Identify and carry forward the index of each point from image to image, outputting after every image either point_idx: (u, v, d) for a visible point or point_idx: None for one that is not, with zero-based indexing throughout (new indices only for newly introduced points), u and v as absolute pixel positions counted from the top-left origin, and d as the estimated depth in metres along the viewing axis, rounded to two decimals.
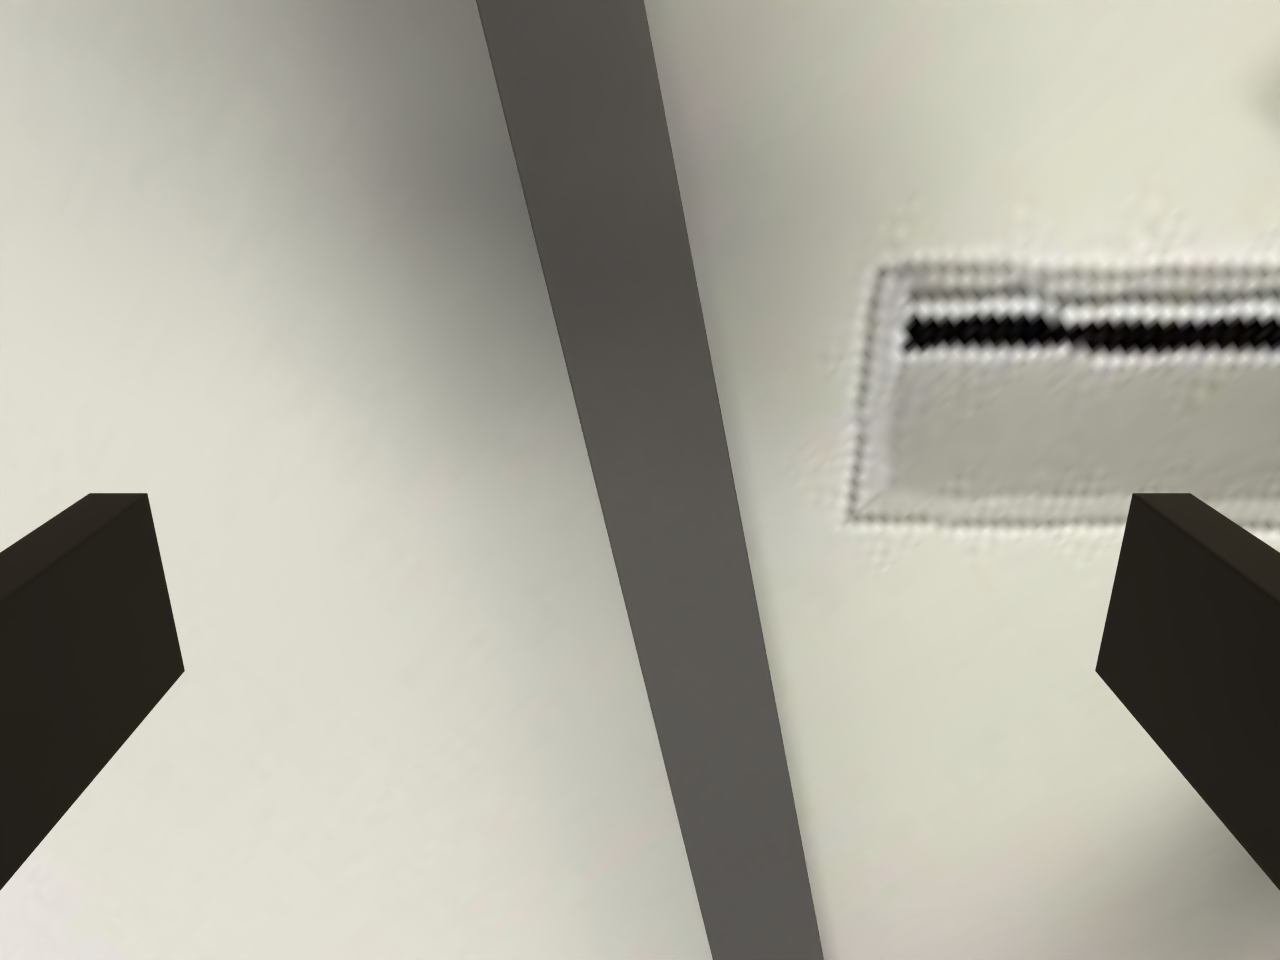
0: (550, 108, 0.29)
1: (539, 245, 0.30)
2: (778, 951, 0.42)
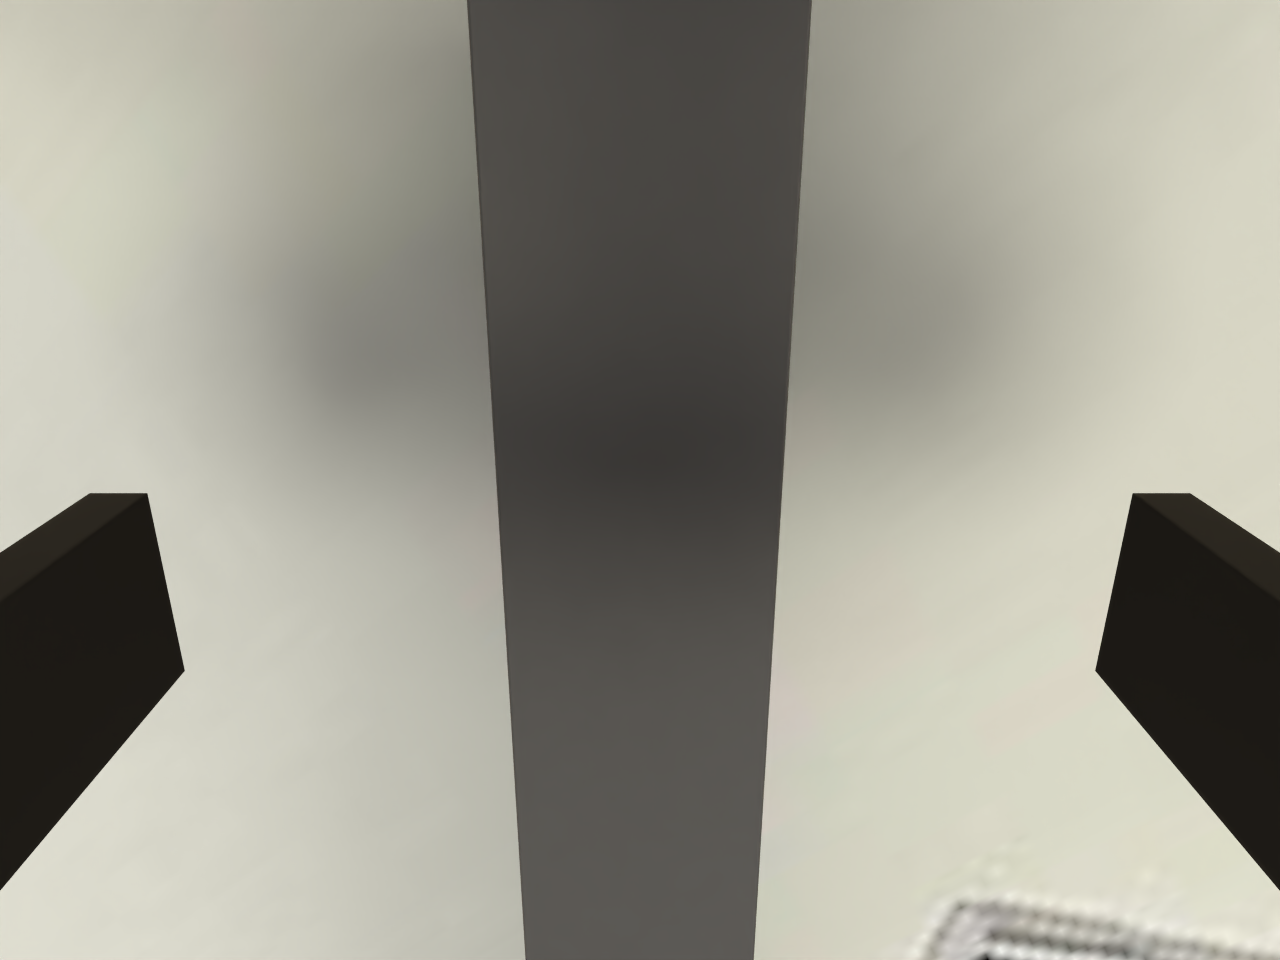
0: (591, 885, 0.19)
1: None
2: None
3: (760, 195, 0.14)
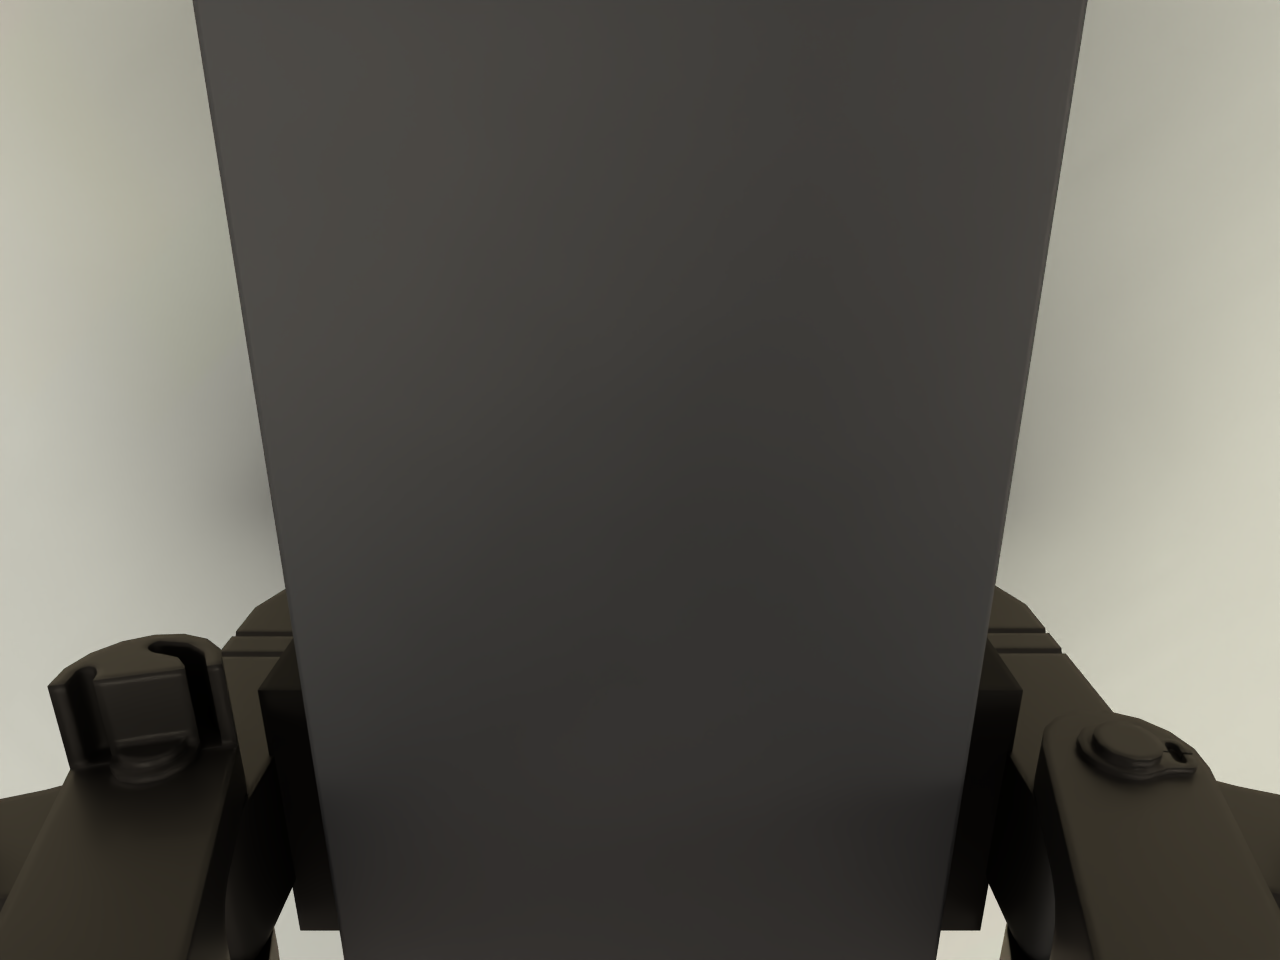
0: None
1: None
2: None
3: (942, 297, 0.06)
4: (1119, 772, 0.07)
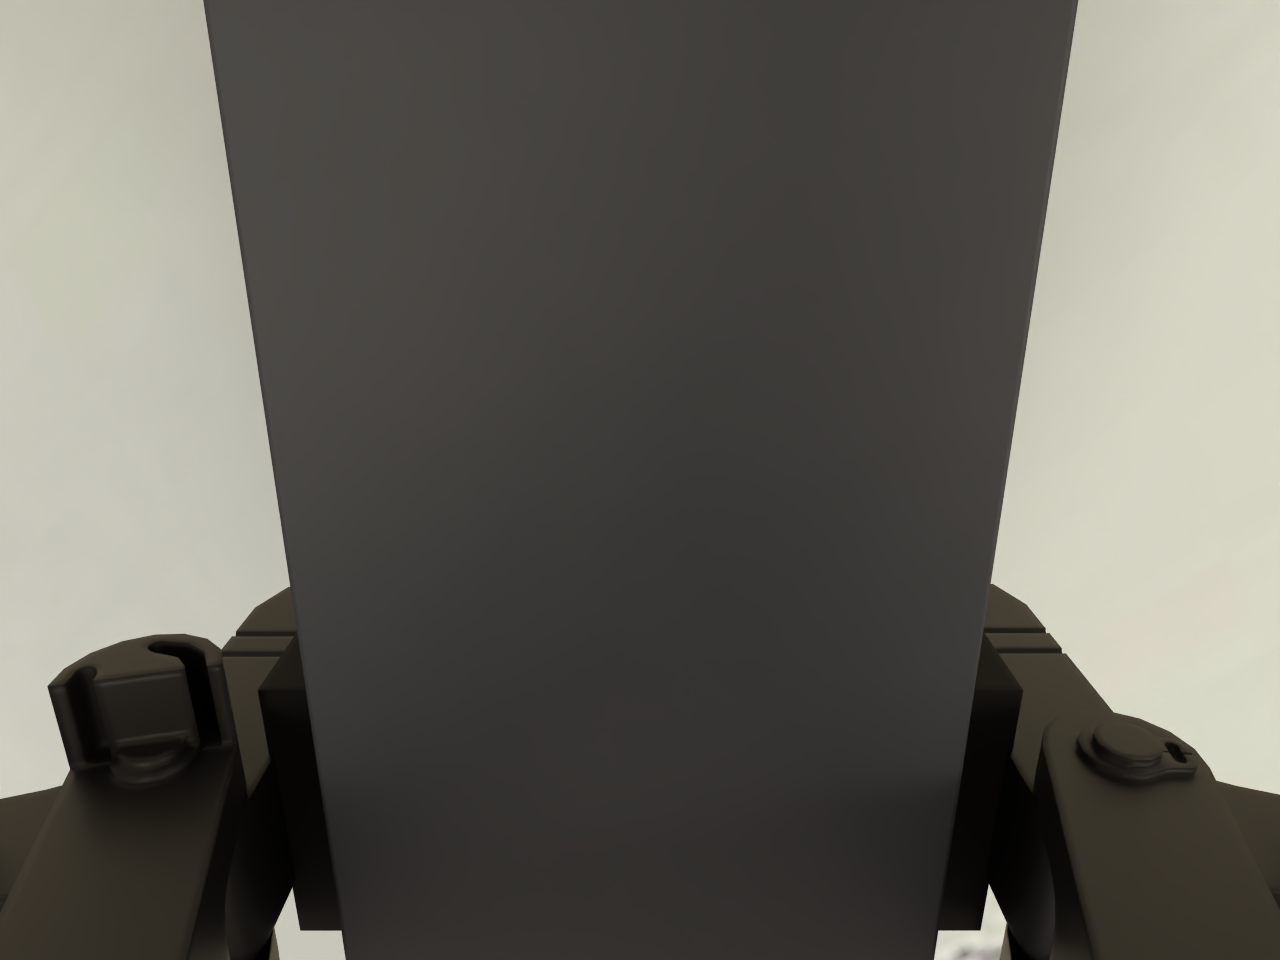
0: None
1: None
2: None
3: (938, 295, 0.06)
4: (1119, 772, 0.07)
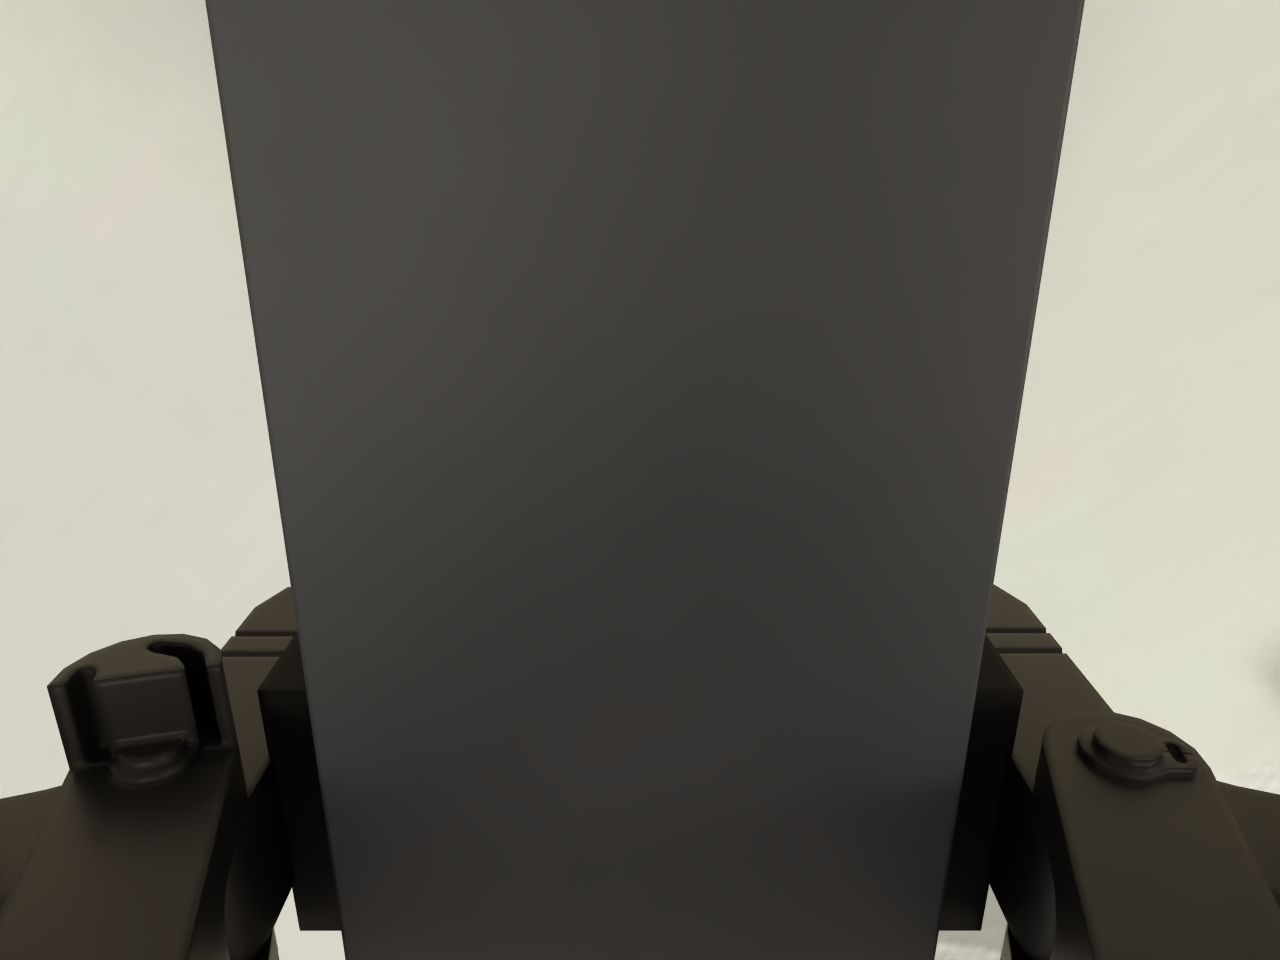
0: None
1: None
2: None
3: (941, 301, 0.06)
4: (1121, 773, 0.07)
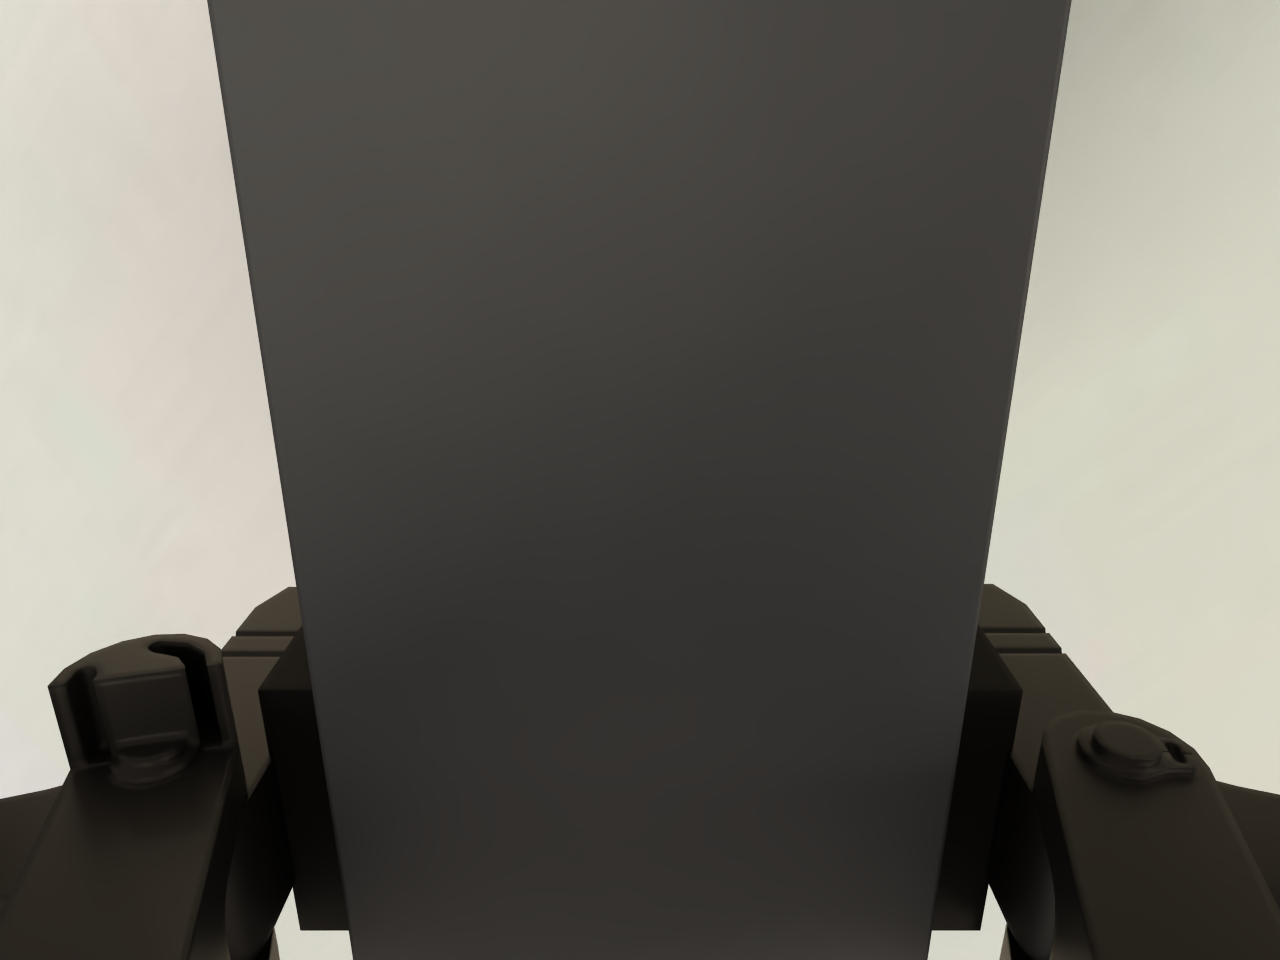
0: None
1: None
2: None
3: (930, 313, 0.06)
4: (1118, 772, 0.07)
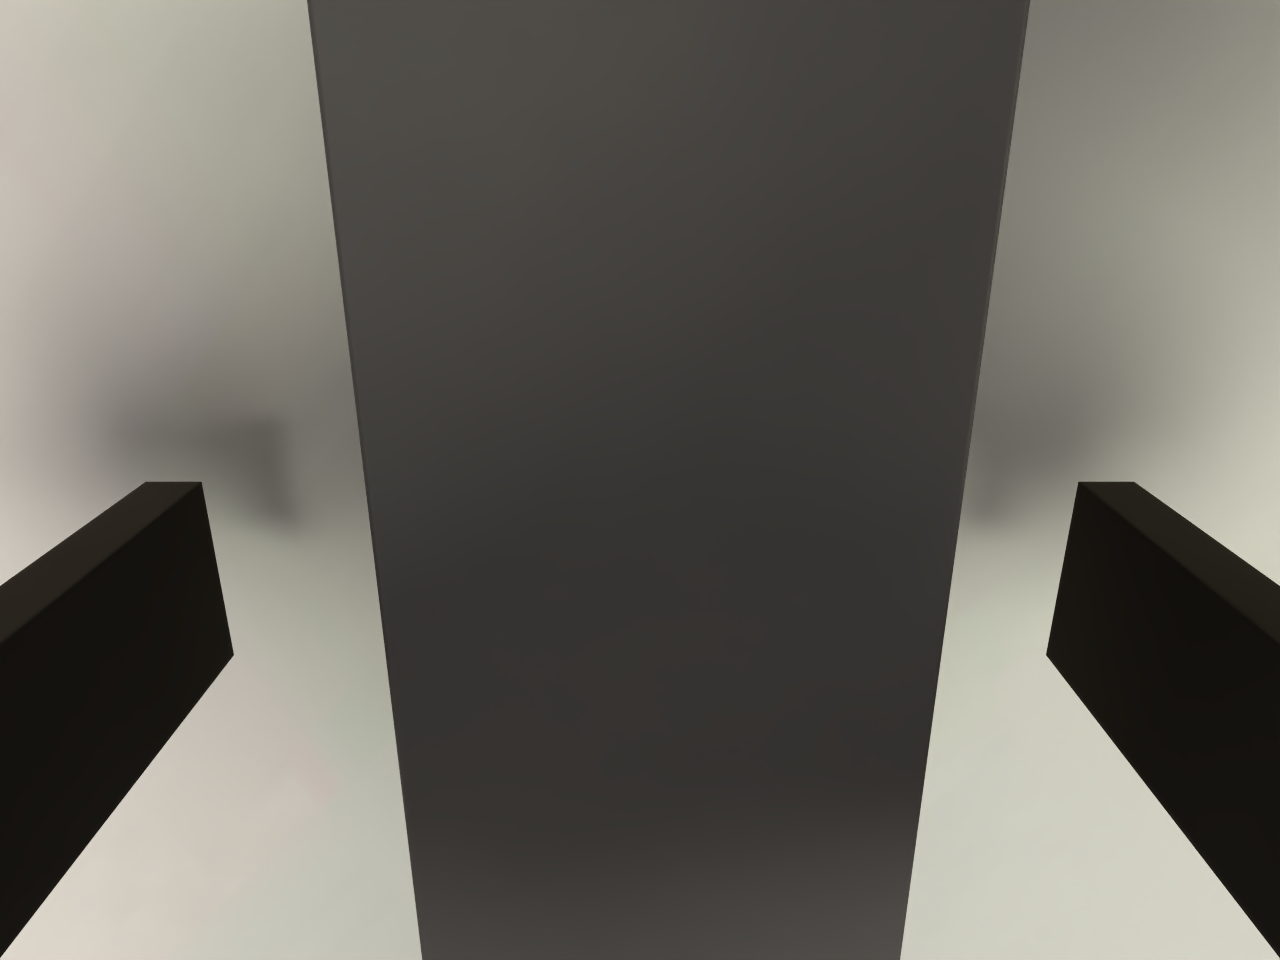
0: None
1: None
2: None
3: (912, 283, 0.07)
4: None
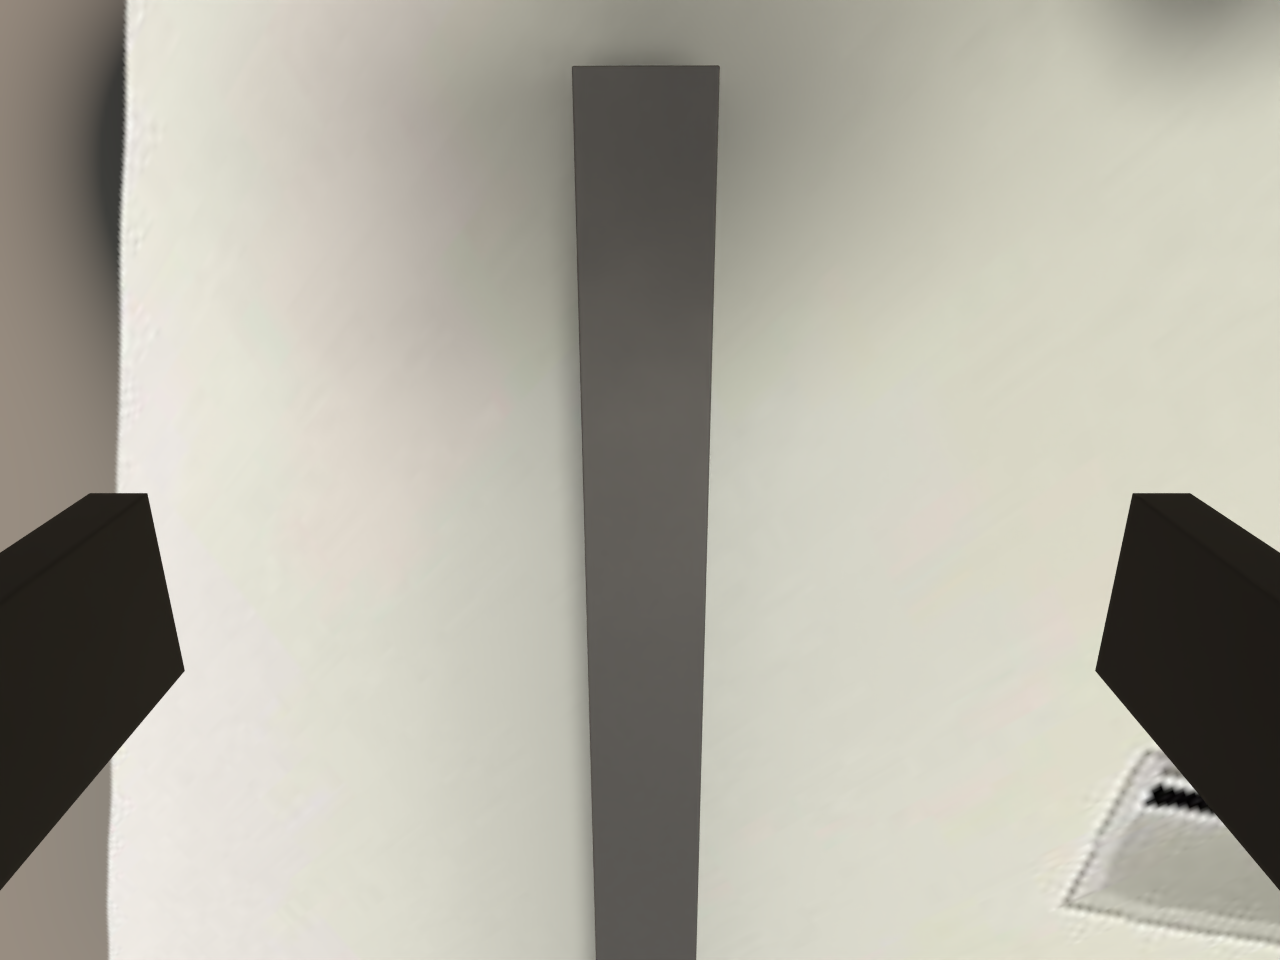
0: (620, 524, 0.37)
1: (589, 612, 0.38)
2: None
3: (699, 161, 0.32)
4: None
